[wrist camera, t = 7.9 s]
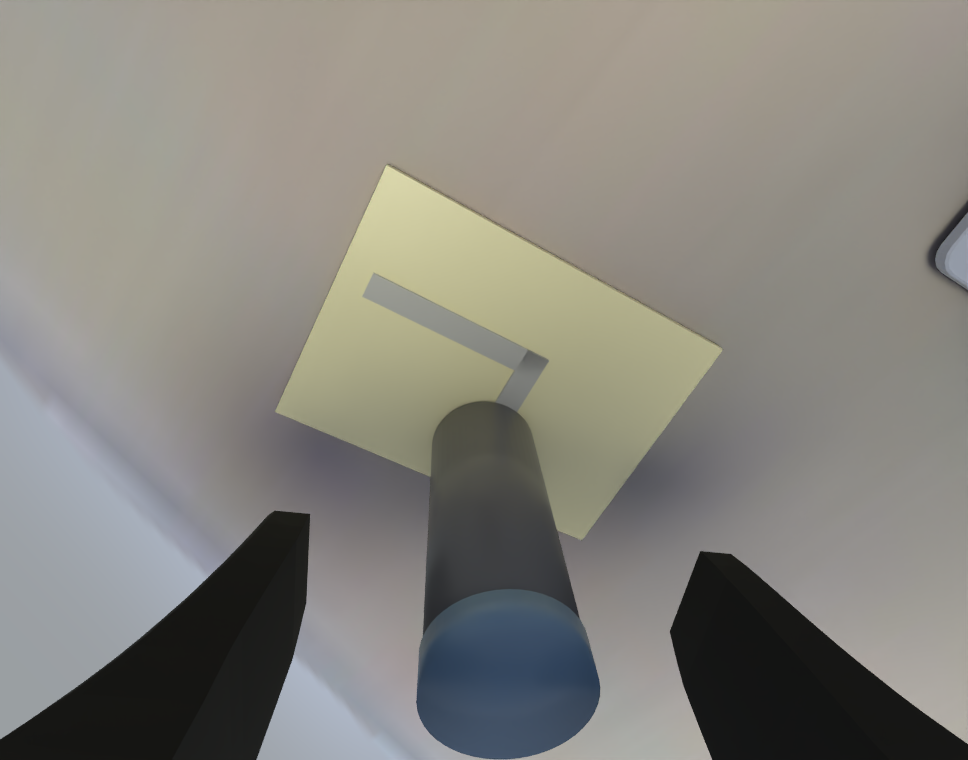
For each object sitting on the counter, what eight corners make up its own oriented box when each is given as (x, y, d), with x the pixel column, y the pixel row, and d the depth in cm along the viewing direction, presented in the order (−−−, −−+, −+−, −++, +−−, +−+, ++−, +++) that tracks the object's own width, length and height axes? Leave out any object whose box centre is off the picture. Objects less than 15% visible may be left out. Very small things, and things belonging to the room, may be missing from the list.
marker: (544, 406, 15) (620, 638, 8) (524, 495, 16) (578, 762, 10) (436, 393, 15) (428, 624, 8) (424, 485, 16) (407, 754, 9)
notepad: (718, 345, 15) (724, 350, 15) (579, 533, 17) (582, 543, 17) (387, 163, 13) (386, 165, 12) (277, 406, 15) (273, 413, 15)
